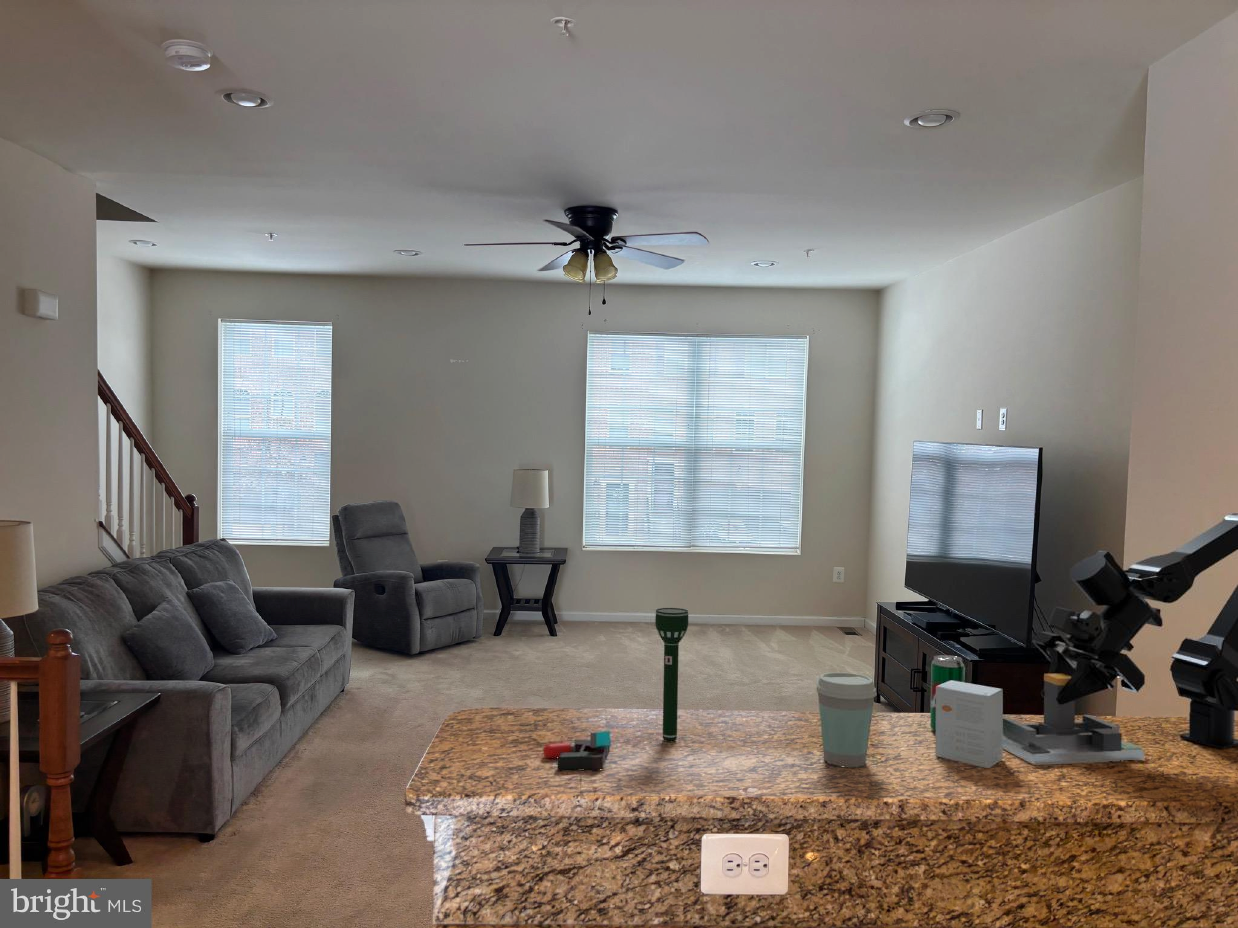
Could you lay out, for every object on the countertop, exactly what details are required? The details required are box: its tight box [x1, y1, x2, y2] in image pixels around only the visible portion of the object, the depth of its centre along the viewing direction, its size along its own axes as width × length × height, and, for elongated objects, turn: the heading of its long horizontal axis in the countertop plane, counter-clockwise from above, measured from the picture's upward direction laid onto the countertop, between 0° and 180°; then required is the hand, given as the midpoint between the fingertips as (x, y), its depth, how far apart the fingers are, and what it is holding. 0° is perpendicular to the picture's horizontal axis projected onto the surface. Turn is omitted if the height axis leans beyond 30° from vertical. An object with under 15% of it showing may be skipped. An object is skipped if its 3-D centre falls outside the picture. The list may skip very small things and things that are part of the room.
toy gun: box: [542, 729, 612, 772], centre depth 126 cm, size 10×12×5 cm
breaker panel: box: [1003, 714, 1145, 766], centre depth 134 cm, size 18×13×4 cm
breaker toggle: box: [1038, 673, 1080, 735], centre depth 134 cm, size 4×4×9 cm
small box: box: [935, 680, 1004, 769], centre depth 129 cm, size 8×6×10 cm
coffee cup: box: [815, 671, 877, 768], centre depth 127 cm, size 8×8×12 cm
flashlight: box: [655, 607, 689, 743], centre depth 135 cm, size 5×5×20 cm
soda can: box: [929, 654, 966, 733], centre depth 142 cm, size 5×5×12 cm
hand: (1050, 699), depth 134 cm, fingers closed on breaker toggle, 3 cm apart
